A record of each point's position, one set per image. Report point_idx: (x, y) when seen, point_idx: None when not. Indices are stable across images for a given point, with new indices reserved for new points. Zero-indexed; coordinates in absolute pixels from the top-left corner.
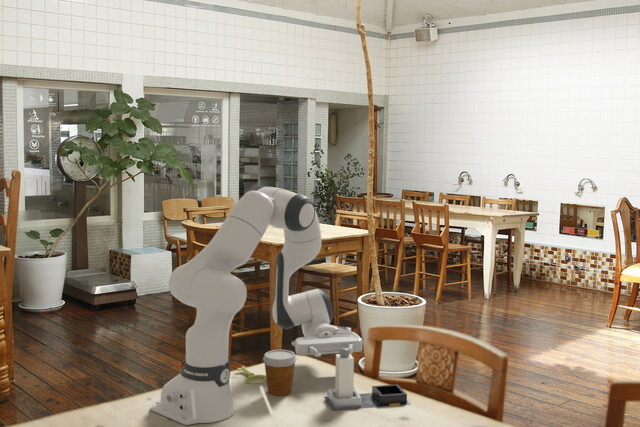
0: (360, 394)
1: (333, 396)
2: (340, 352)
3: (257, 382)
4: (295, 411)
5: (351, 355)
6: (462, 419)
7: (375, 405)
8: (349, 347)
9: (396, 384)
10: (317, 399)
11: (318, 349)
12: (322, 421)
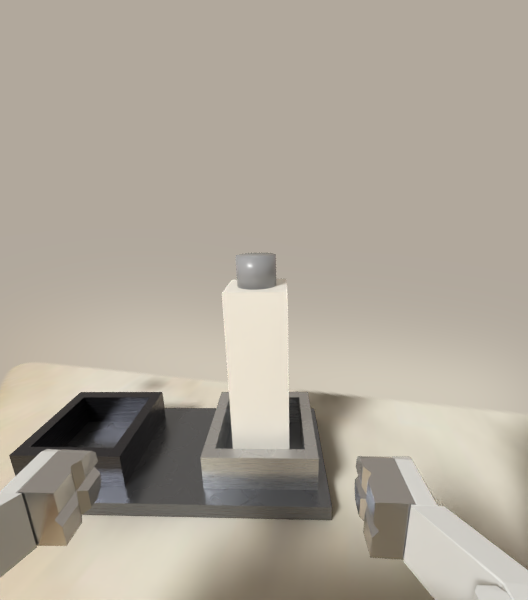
0: (166, 497)
1: (305, 407)
2: (275, 266)
3: None
4: (435, 449)
5: (226, 287)
6: (54, 369)
7: (180, 416)
8: (27, 482)
9: (16, 453)
10: (360, 535)
11: (389, 503)
12: (344, 395)
